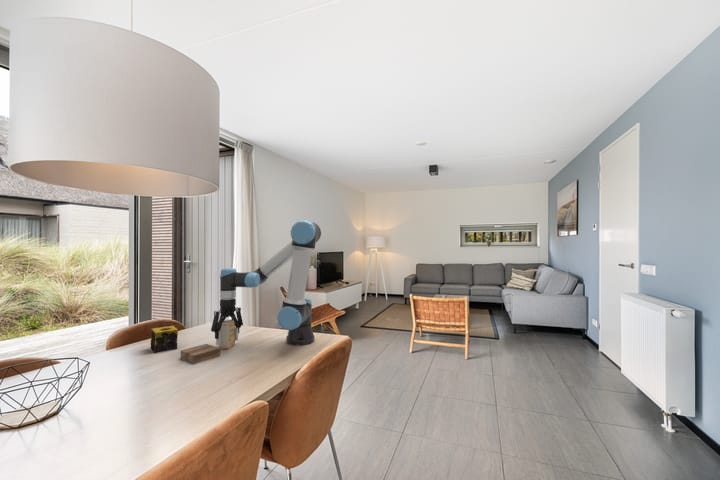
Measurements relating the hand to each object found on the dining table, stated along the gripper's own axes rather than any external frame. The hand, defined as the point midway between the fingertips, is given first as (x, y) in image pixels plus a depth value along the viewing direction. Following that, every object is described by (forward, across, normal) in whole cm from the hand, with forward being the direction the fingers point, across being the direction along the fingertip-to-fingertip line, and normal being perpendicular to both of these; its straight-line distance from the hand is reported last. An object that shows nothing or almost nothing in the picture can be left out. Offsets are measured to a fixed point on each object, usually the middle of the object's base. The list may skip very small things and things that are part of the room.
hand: (227, 342), depth 159 cm
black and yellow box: (+2, +20, -23) cm, 31 cm away
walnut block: (+2, +16, +4) cm, 17 cm away
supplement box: (+2, 0, 0) cm, 2 cm away
